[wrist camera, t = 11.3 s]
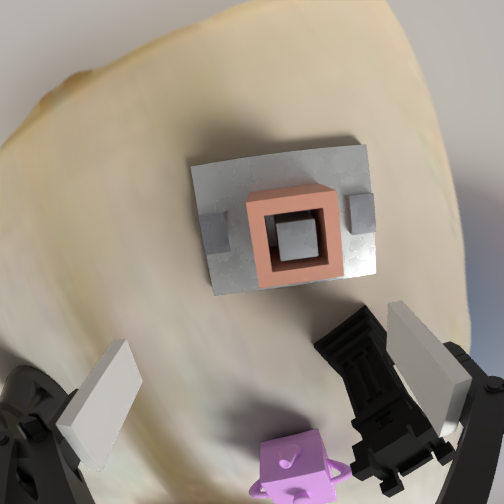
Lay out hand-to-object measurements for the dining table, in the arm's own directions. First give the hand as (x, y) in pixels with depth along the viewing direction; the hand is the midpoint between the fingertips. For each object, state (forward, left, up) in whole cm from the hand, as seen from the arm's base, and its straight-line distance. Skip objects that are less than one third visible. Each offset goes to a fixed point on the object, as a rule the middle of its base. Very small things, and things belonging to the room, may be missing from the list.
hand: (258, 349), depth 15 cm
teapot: (+1, -34, -21) cm, 40 cm away
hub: (+3, +2, -19) cm, 20 cm away
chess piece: (+10, -15, -21) cm, 28 cm away
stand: (+3, +2, -21) cm, 21 cm away
